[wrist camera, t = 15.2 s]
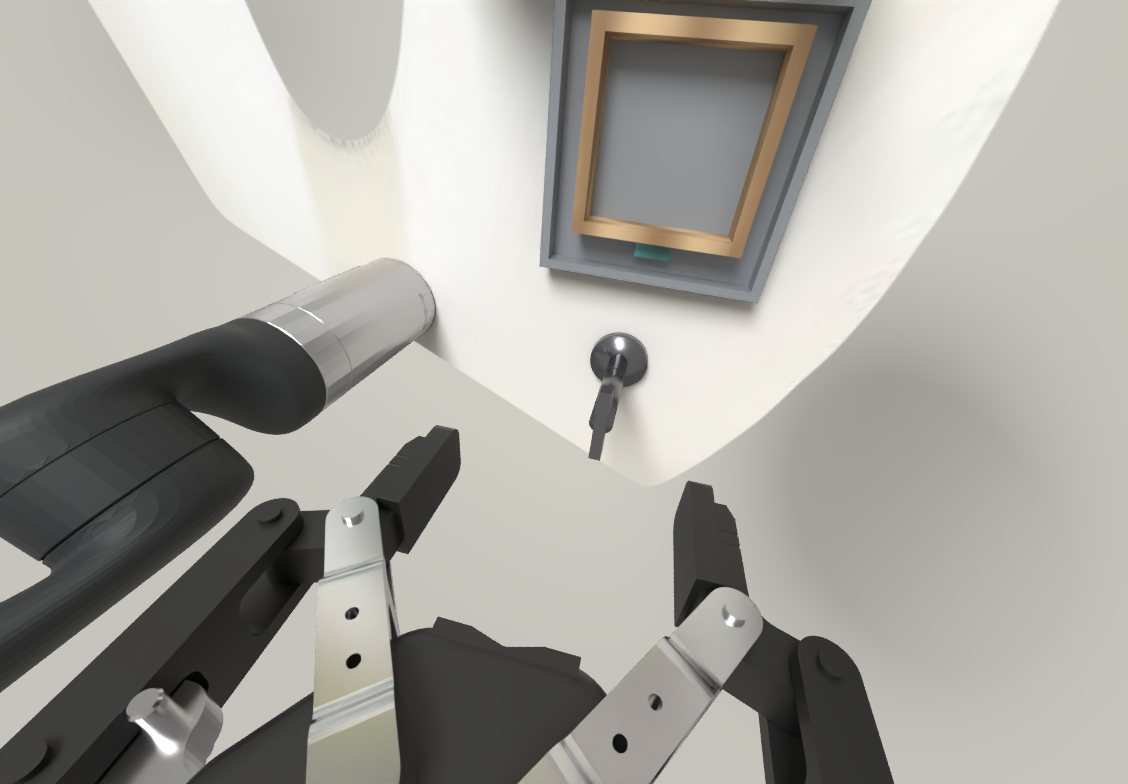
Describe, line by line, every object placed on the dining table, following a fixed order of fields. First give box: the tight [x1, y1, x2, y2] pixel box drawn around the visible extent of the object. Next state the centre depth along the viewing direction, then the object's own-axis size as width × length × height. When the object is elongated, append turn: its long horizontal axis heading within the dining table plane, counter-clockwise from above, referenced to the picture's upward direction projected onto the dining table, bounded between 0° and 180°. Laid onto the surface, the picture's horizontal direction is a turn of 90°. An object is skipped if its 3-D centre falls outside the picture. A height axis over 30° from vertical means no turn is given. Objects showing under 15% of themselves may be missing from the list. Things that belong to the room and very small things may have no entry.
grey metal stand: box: [589, 333, 648, 461], centre depth 39 cm, size 6×7×13 cm
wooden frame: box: [571, 10, 818, 261], centre depth 31 cm, size 14×16×3 cm
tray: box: [540, 0, 872, 303], centre depth 32 cm, size 20×20×2 cm
